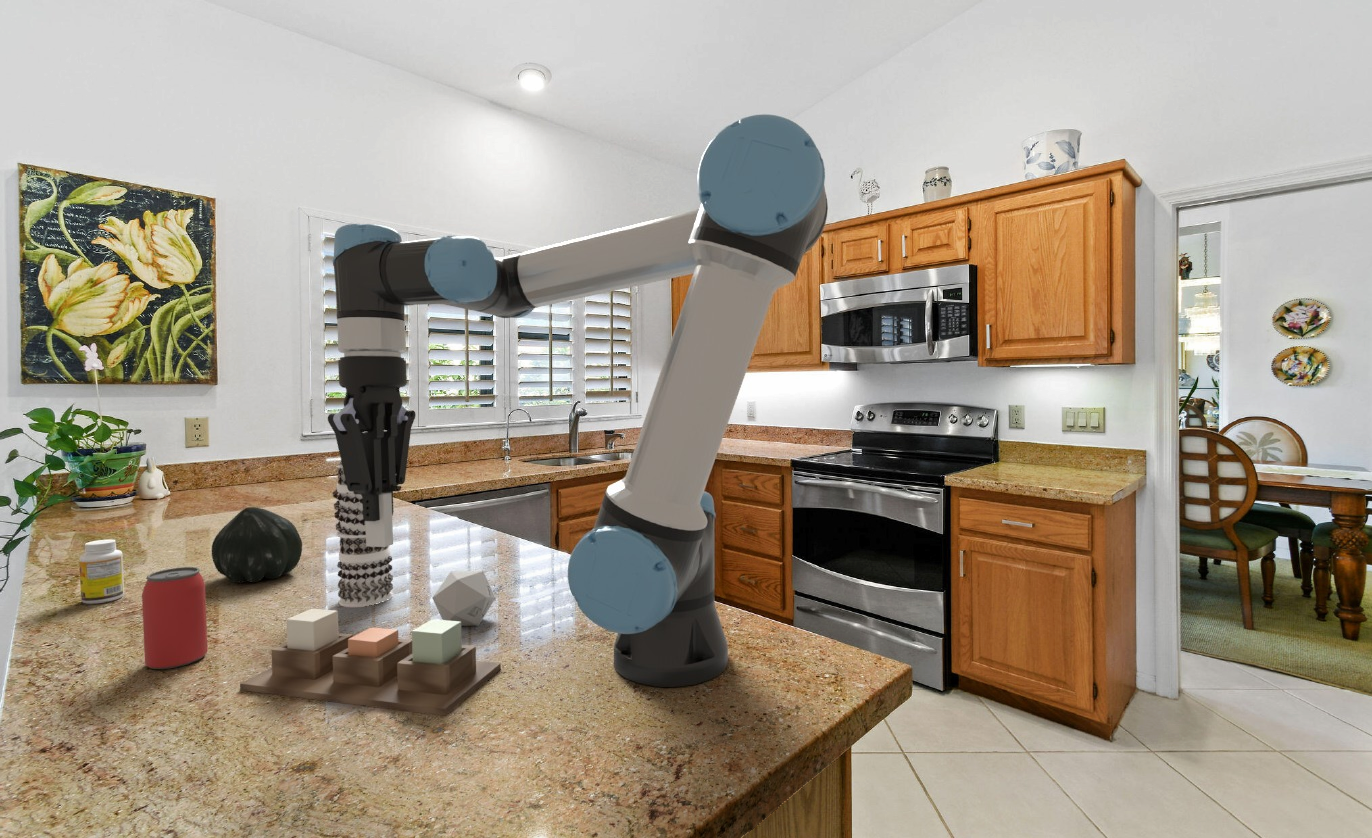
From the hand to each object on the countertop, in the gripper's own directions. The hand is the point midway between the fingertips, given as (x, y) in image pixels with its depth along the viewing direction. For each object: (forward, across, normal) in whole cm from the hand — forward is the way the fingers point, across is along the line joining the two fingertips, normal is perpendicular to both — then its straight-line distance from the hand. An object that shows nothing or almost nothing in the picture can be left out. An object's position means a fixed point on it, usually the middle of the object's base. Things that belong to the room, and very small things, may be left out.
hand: (379, 545), depth 79 cm
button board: (+17, +1, -1) cm, 17 cm away
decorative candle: (+17, -26, -24) cm, 39 cm away
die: (+17, -19, -1) cm, 26 cm away
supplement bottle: (+16, -16, -69) cm, 73 cm away
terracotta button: (+15, +1, -1) cm, 15 cm away
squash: (+16, -33, -54) cm, 65 cm away
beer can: (+17, +1, -31) cm, 35 cm away
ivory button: (+13, 0, -10) cm, 17 cm away
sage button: (+14, +1, +8) cm, 16 cm away
